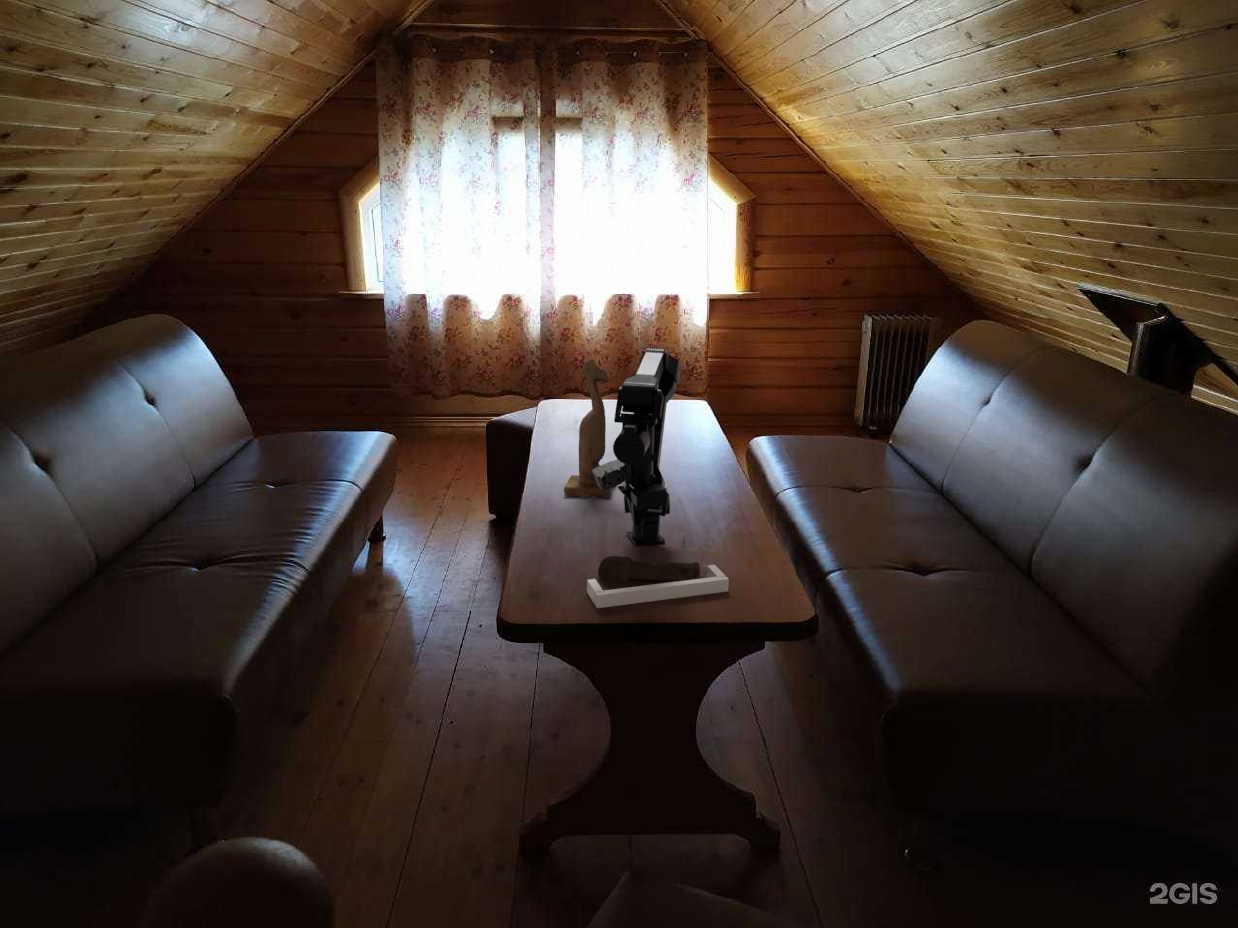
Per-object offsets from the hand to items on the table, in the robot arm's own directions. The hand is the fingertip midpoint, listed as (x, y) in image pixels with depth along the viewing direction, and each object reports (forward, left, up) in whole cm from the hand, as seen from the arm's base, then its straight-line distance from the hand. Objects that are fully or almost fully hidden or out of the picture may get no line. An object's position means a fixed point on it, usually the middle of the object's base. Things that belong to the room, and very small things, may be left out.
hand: (636, 524), depth 170 cm
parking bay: (+13, 0, -8) cm, 15 cm away
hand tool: (+8, 0, -9) cm, 12 cm away
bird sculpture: (-43, +3, -8) cm, 44 cm away
